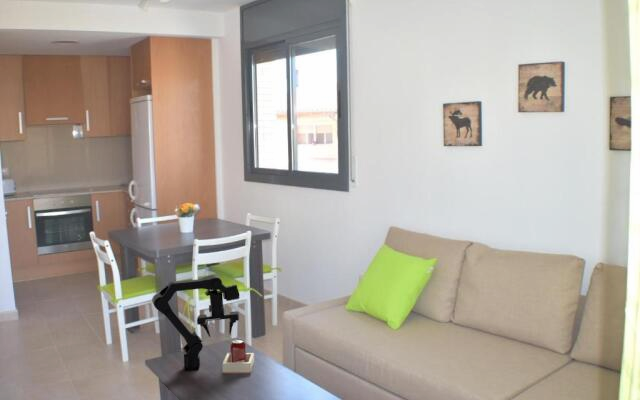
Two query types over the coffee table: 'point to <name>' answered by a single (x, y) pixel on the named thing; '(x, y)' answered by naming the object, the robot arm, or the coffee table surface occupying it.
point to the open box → (238, 364)
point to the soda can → (238, 350)
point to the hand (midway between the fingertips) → (220, 335)
